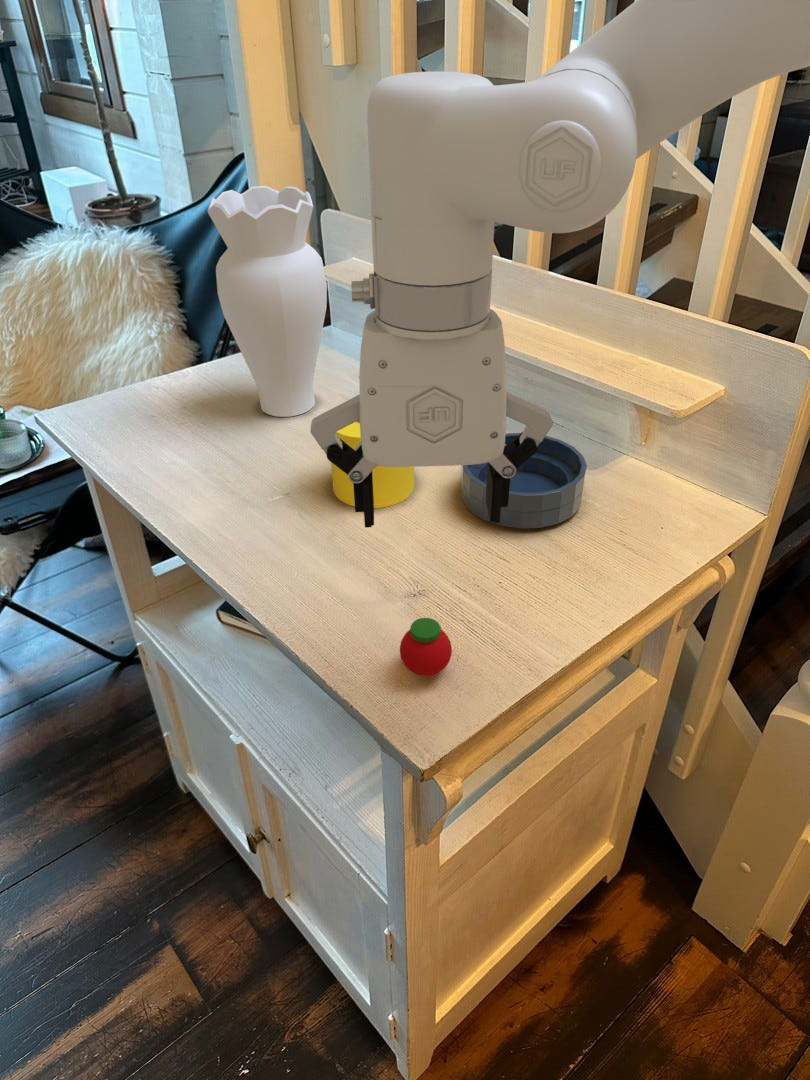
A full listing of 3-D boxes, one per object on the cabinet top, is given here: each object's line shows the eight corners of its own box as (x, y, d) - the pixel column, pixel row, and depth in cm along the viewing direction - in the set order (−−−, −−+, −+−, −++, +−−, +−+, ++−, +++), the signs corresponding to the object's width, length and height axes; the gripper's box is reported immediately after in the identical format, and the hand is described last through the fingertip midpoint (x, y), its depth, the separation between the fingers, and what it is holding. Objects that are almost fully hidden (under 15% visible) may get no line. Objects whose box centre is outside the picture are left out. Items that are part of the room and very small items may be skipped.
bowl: (588, 476, 94) (593, 440, 91) (572, 541, 83) (577, 503, 80) (476, 461, 98) (477, 426, 95) (448, 522, 87) (448, 485, 84)
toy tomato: (457, 655, 70) (457, 615, 67) (443, 692, 66) (443, 650, 63) (409, 646, 71) (408, 605, 68) (393, 681, 67) (391, 640, 64)
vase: (222, 424, 108) (181, 208, 91) (259, 381, 120) (229, 182, 103) (320, 432, 106) (296, 210, 88) (348, 387, 117) (332, 183, 100)
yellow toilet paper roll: (357, 517, 88) (352, 446, 83) (319, 480, 95) (312, 412, 90) (429, 491, 92) (428, 422, 87) (388, 457, 99) (384, 391, 94)
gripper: (293, 321, 46) (317, 548, 56) (578, 313, 46) (550, 540, 56) (302, 282, 52) (322, 493, 62) (554, 275, 52) (533, 486, 62)
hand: (431, 515), depth 59 cm, fingers open, 9 cm apart
